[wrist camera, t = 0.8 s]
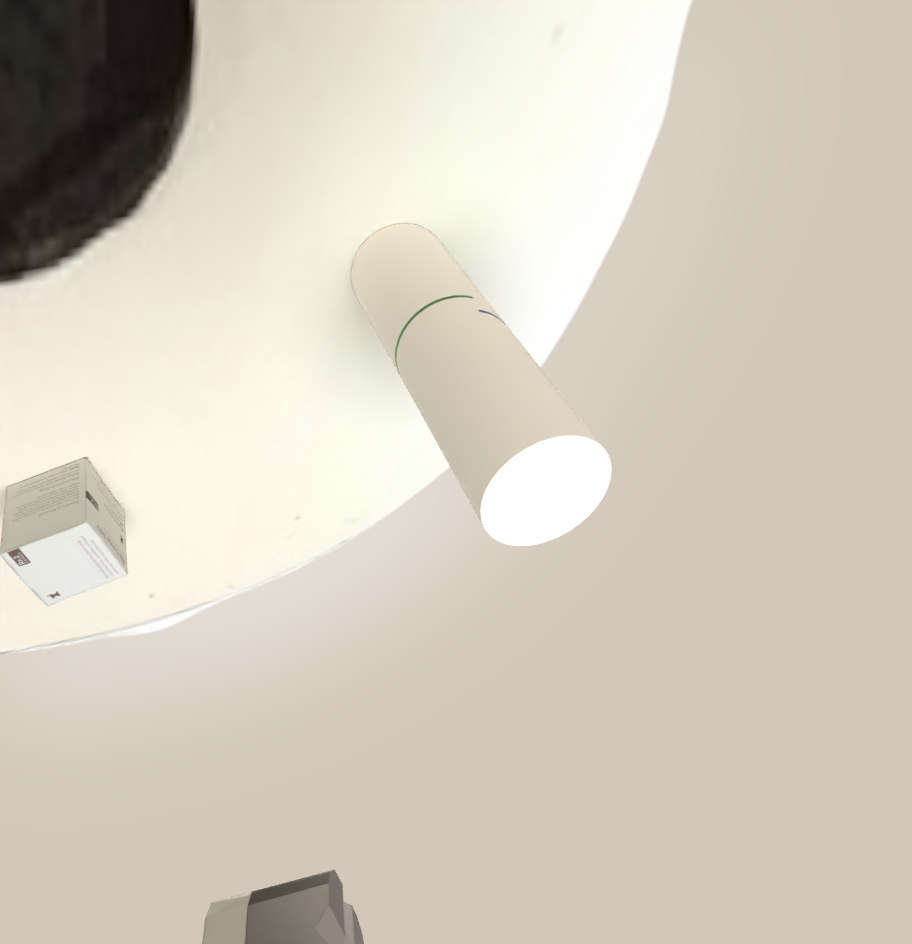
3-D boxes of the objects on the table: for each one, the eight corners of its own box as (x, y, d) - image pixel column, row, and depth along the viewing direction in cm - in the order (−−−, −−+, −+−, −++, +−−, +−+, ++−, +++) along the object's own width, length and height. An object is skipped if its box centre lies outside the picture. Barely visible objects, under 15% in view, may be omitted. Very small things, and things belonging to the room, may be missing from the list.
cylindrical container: (415, 328, 61) (558, 555, 43) (333, 296, 56) (453, 533, 39) (463, 246, 58) (637, 454, 40) (380, 206, 54) (533, 419, 36)
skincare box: (125, 509, 62) (131, 576, 57) (49, 538, 61) (47, 610, 56) (85, 454, 58) (87, 521, 52) (2, 485, 57) (-4, 557, 52)
